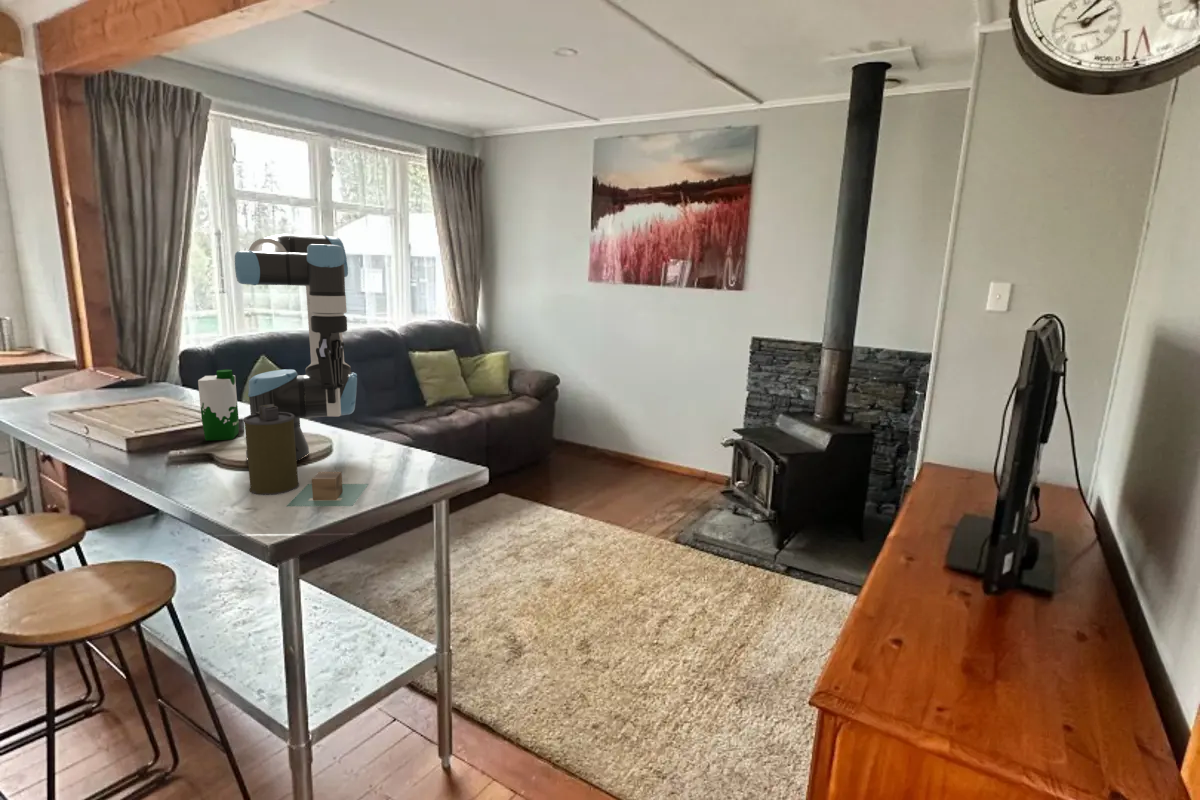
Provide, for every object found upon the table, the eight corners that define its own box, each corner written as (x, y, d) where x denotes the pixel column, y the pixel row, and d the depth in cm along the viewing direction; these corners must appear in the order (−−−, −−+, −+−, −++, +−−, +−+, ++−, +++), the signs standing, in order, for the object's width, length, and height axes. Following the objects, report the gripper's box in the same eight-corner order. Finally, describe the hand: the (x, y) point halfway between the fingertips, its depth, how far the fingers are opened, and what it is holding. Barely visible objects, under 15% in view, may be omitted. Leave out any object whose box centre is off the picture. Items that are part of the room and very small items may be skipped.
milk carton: (235, 440, 183) (229, 373, 178) (200, 441, 180) (193, 373, 176) (242, 432, 191) (237, 367, 187) (209, 433, 188) (202, 368, 184)
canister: (306, 488, 148) (301, 406, 143) (259, 500, 140) (252, 413, 136) (287, 477, 155) (281, 398, 150) (241, 487, 147) (234, 404, 143)
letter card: (308, 485, 150) (308, 483, 150) (368, 485, 152) (368, 483, 152) (286, 507, 136) (286, 506, 136) (352, 507, 138) (352, 505, 138)
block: (320, 492, 145) (319, 471, 144) (342, 492, 146) (341, 471, 145) (312, 500, 140) (311, 479, 139) (336, 500, 141) (334, 479, 140)
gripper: (320, 311, 147) (326, 409, 152) (301, 316, 135) (307, 422, 140) (353, 312, 148) (358, 409, 153) (337, 317, 136) (342, 422, 140)
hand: (334, 415), depth 146 cm, fingers closed
